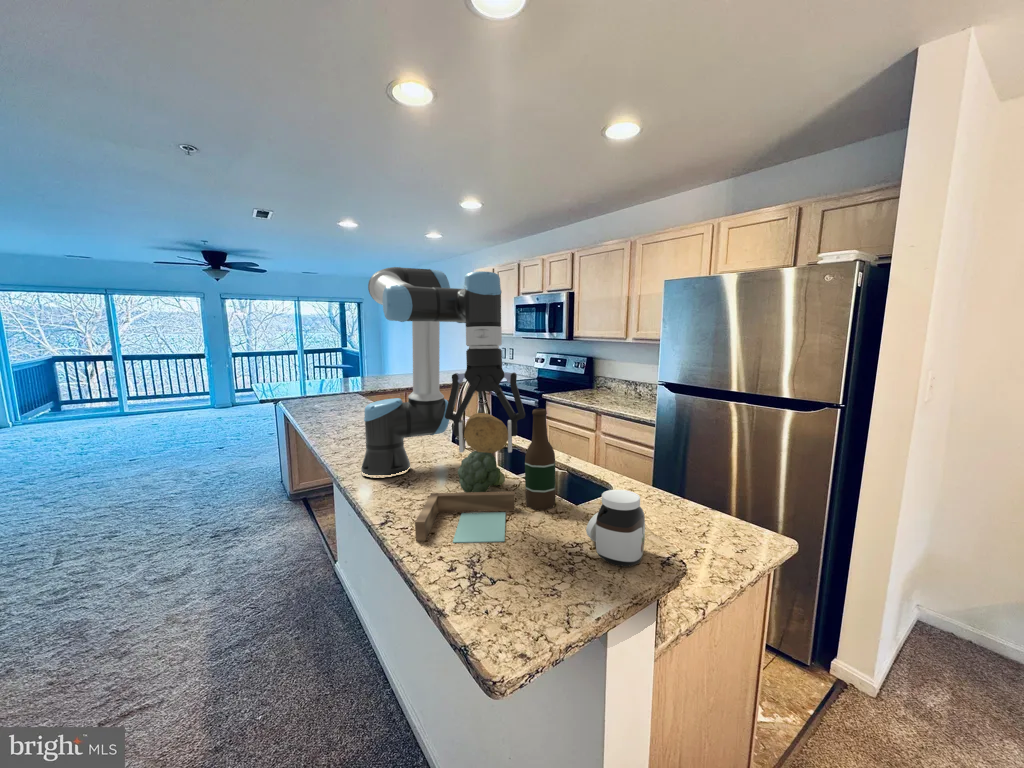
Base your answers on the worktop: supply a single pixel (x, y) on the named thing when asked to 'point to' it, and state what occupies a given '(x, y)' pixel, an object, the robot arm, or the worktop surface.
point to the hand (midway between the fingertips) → (486, 450)
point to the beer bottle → (540, 466)
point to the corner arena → (460, 506)
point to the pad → (480, 527)
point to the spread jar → (619, 528)
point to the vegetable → (479, 472)
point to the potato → (485, 433)
